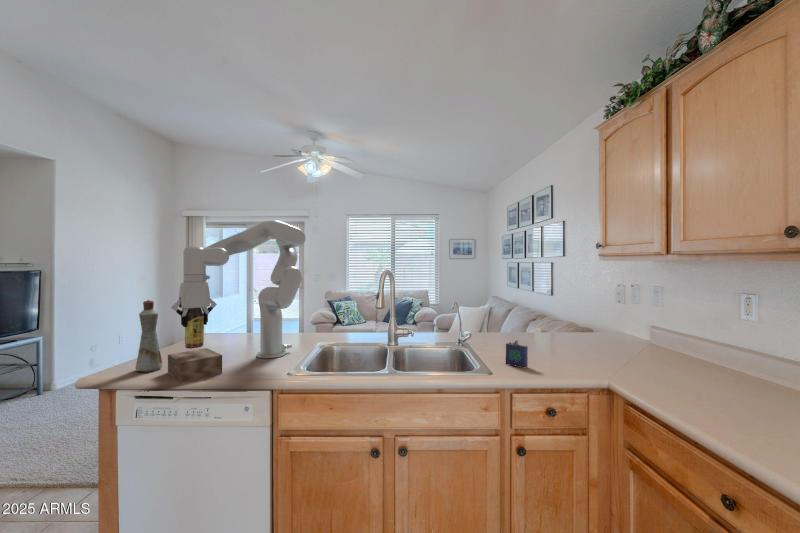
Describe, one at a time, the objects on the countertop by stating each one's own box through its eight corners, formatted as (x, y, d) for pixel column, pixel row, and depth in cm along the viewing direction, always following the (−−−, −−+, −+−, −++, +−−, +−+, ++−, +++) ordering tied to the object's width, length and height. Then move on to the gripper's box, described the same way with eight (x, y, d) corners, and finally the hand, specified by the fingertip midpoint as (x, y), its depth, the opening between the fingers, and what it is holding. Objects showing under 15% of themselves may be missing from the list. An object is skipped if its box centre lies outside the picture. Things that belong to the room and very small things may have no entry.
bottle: (128, 372, 135) (128, 300, 135) (148, 365, 144) (148, 298, 144) (148, 373, 134) (148, 301, 134) (167, 366, 143) (167, 298, 143)
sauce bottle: (195, 349, 131) (194, 296, 131) (181, 348, 132) (180, 296, 132) (208, 345, 137) (207, 295, 137) (194, 344, 139) (193, 294, 138)
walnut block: (206, 364, 146) (206, 348, 146) (222, 373, 135) (222, 355, 135) (167, 372, 135) (167, 354, 135) (181, 382, 125) (181, 362, 124)
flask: (528, 367, 144) (528, 341, 144) (525, 368, 142) (525, 342, 142) (506, 363, 150) (506, 338, 150) (504, 364, 148) (504, 339, 148)
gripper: (214, 278, 144) (214, 321, 144) (165, 279, 131) (165, 327, 131) (222, 278, 139) (222, 323, 139) (171, 280, 126) (171, 329, 126)
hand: (194, 325), depth 135 cm, fingers closed on sauce bottle, 6 cm apart
